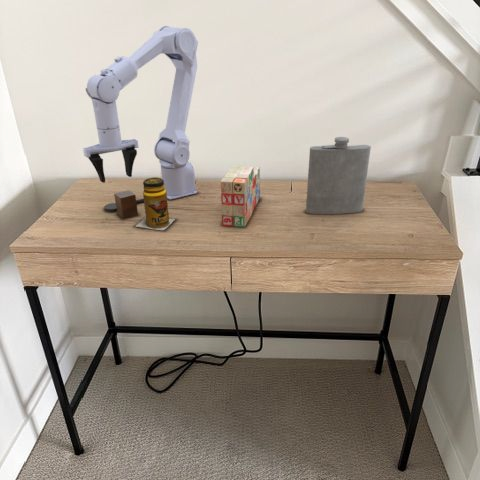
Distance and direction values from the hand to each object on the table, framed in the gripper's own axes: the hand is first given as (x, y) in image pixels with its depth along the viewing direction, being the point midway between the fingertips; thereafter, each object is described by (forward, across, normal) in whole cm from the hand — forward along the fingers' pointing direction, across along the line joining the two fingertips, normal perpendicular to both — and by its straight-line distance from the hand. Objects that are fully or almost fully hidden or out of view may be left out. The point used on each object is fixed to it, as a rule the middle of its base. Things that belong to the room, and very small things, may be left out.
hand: (116, 178), depth 138 cm
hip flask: (+10, -49, +35) cm, 61 cm away
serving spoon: (+9, -4, -3) cm, 11 cm away
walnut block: (+9, 0, +3) cm, 10 cm away
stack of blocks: (+10, -28, +20) cm, 36 cm away
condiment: (+10, -4, +13) cm, 17 cm away
